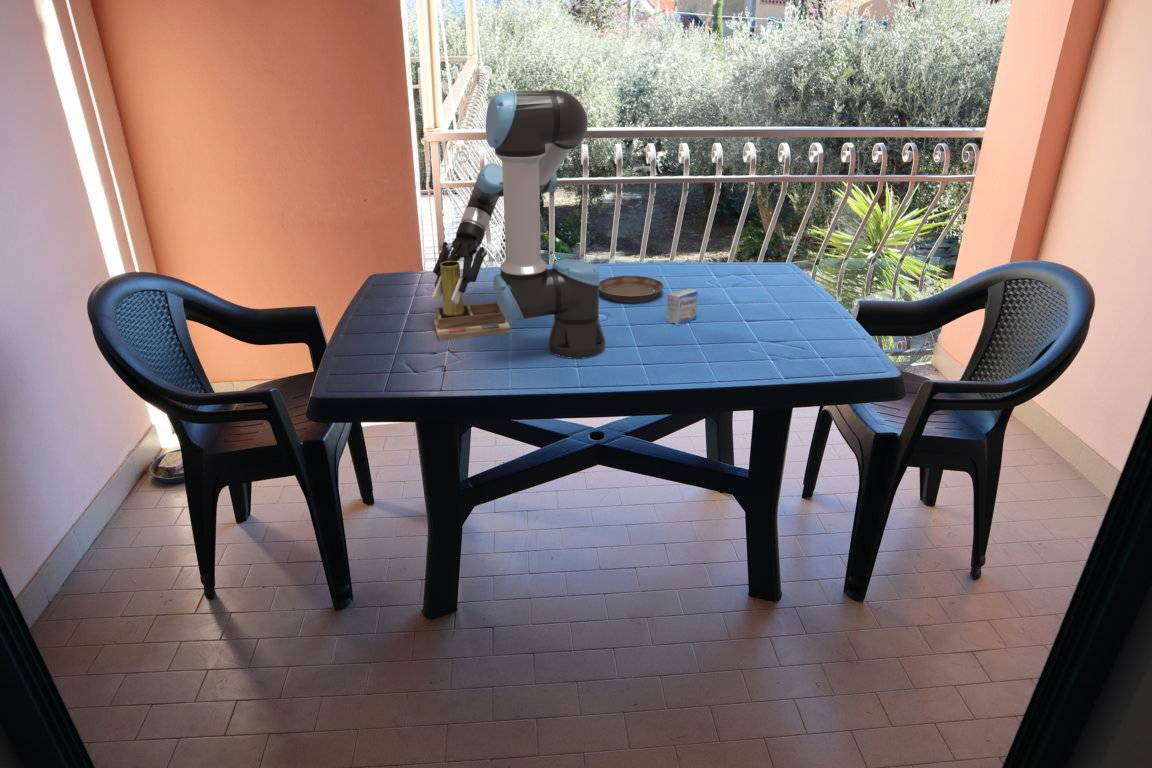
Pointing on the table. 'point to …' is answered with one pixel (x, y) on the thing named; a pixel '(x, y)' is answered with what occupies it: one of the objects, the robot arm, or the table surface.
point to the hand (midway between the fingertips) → (444, 300)
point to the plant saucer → (630, 288)
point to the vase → (450, 288)
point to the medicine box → (682, 306)
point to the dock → (471, 322)
